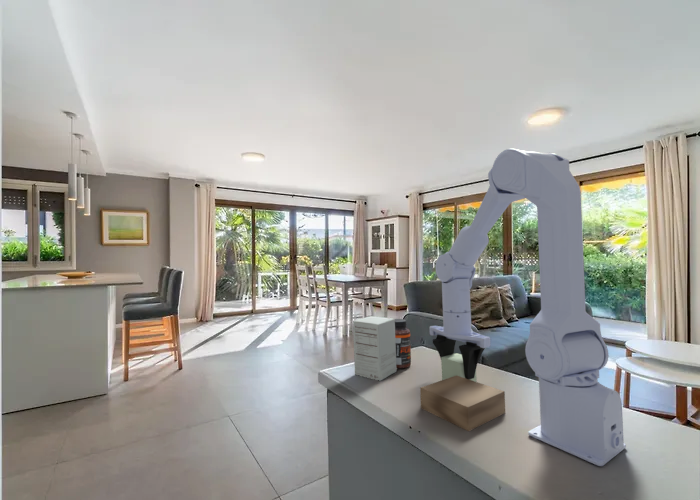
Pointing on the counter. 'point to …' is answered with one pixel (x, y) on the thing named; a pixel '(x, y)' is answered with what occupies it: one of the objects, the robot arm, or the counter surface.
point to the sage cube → (453, 366)
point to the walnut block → (463, 401)
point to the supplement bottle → (402, 344)
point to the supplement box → (374, 347)
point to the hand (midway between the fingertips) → (458, 374)
